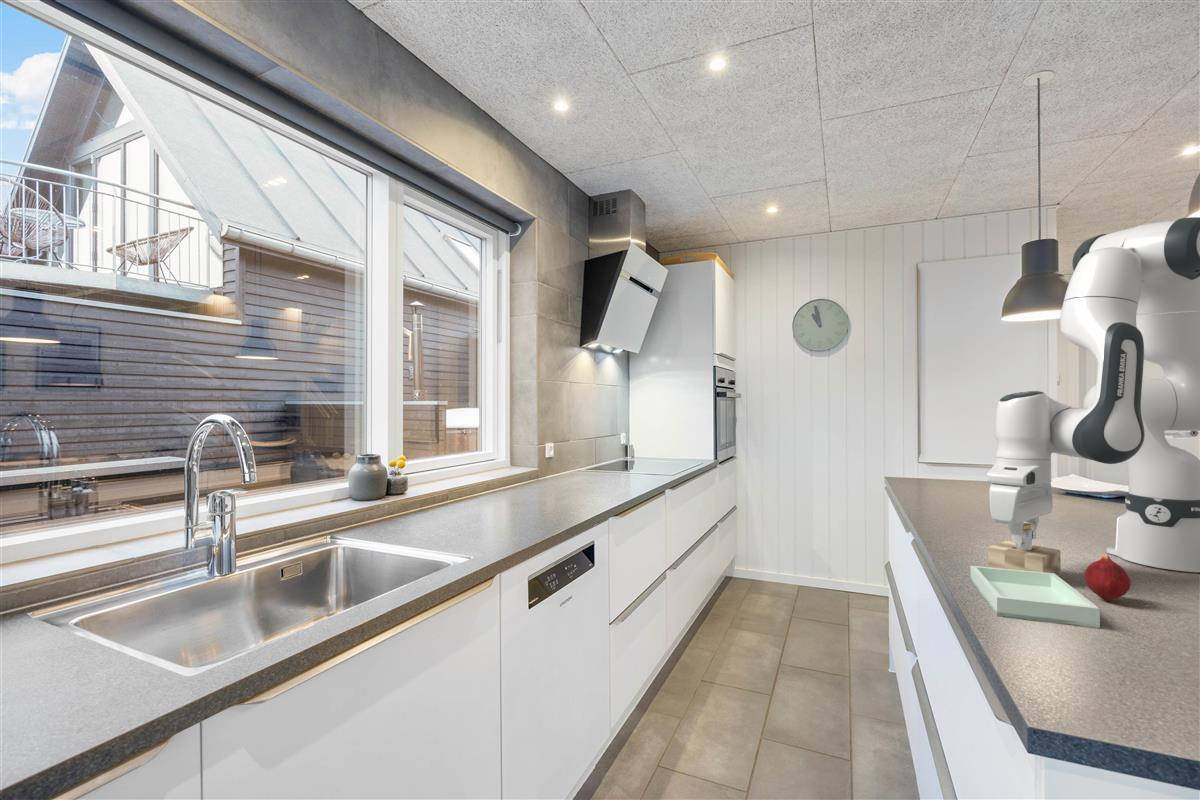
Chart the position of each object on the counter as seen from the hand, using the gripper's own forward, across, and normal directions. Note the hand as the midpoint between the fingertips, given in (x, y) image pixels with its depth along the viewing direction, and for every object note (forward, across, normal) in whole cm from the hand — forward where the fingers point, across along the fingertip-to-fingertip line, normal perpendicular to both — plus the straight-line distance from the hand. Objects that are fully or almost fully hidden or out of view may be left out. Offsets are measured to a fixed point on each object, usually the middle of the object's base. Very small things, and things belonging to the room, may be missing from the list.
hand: (1023, 540), depth 108 cm
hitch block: (+7, 0, 0) cm, 7 cm away
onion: (+7, +6, +14) cm, 17 cm away
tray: (+7, +18, +6) cm, 20 cm away
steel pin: (+7, 0, 0) cm, 7 cm away
